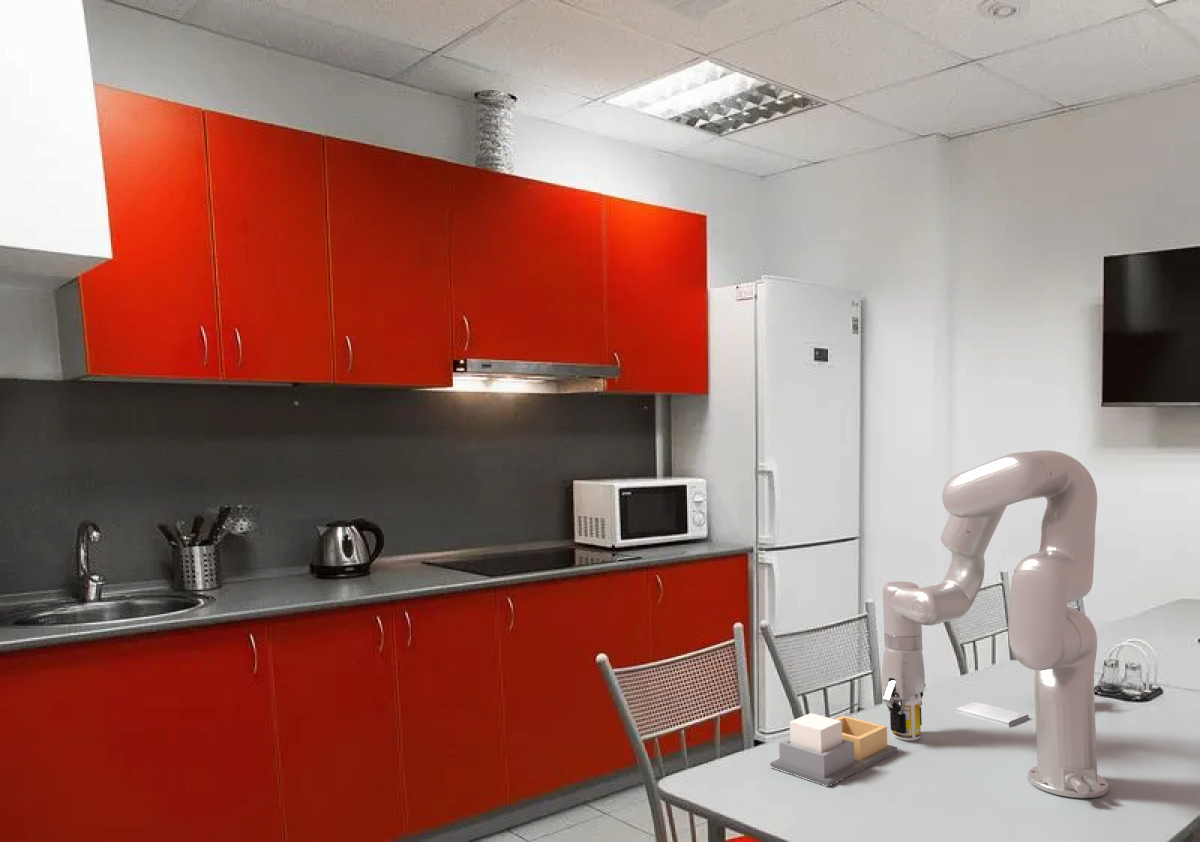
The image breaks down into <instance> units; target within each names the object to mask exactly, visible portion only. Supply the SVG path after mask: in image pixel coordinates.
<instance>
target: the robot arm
mask: <svg viewBox="0 0 1200 842" xmlns="http://www.w3.org/2000/svg"><path fill="white" fill-rule="evenodd" d="M1041 498H1045V499H1046V501H1047V502H1046V508H1045V511H1044V514H1043V516H1042V517H1043V518H1042V520H1041V527H1040V530H1041V532H1040V534H1041V535H1040V544H1039V550H1038V552H1035V553H1032V554H1029V555H1027V556H1025V557H1024V558H1023V559H1021V560H1020V561H1019V562H1018V563H1017V565H1016V567H1015V569H1014V571H1013V574H1012V576H1011V582H1010V590H1009V591H1010V592H1009V595H1010V596H1009V607H1008V608H1009V609H1008V610H1009V611H1008V627H1007V628H1008V630H1007V631H1008V632H1007V633H1008V636H1007V637H1008V643H1009V646H1010V649H1011V652H1012V654H1013V656H1014V657H1015V658H1016V660H1017V661H1018V662H1019V663H1020V664H1021V665H1023V666H1024V667H1026V668H1027V669H1030V670H1034V681H1033V683H1034V684H1033V687H1034V716H1035V719H1034V720H1035V739H1036V740H1035V741H1036V763H1037V764H1036V765H1037V766H1033V767H1031V768H1030V769H1029V770H1028V774H1027V777H1028V781H1029V782H1030V784H1031V785H1033V787H1036V788H1038V789H1039V790H1042V791H1044V792H1046V793H1049V794H1053V795H1056V796H1062V797H1067V798H1073V799H1075V798H1076V799H1093V798H1099V797H1102V796H1104V795H1105V794H1107V793H1108V791H1109V784H1108V781H1107V780H1106V778H1105V779H1104V778H1103V777H1102V776H1101V775H1099V774H1098V759H1097V758H1098V756H1097V753H1098V752H1097V735H1096V734H1097V731H1096V730H1097V729H1096V710H1095V709H1096V706H1095V705H1096V703H1095V701H1096V700H1095V697H1096V696H1095V668H1096V660H1097V659H1096V658H1097V651H1098V635H1097V631H1096V628H1095V626H1094V624H1093V622H1092V620H1091V619H1090V618H1089V617H1088V616H1087V615H1086V614H1085V613H1083V612H1082V611H1080V610H1079V609H1077V608H1075V607H1071V606H1068V604H1070V603H1073V602H1076V601H1080V600H1081V599H1083V598H1085V597H1086V596H1087V595H1088V594H1089V593H1090V592H1091V590H1092V588H1093V582H1094V566H1095V551H1096V550H1095V547H1096V523H1097V521H1096V520H1097V514H1098V513H1097V511H1098V493H1097V488H1096V484H1095V481H1094V478H1093V477H1092V475H1091V473H1090V472H1089V469H1087V468H1086V467H1085V465H1083V464H1082V463H1081V462H1080V461H1078V460H1077V458H1074V457H1072V456H1071V455H1068V454H1066V453H1064V452H1059V451H1056V450H1055V451H1054V450H1045V449H1044V450H1043V449H1042V450H1032V451H1023V452H1022V451H1019V452H1013V453H1009V454H1006V455H1003V456H1000V457H997V458H994V459H993V460H990V461H988V462H985V463H983V464H980V465H978V466H975V467H972V468H971V469H967V470H965V471H962V472H959V473H957V474H955V475H953V476H952V477H950V478H949V479H948V480H947V481H946V483H945V484H944V487H943V489H942V493H941V500H942V504H943V507H944V508H945V509H946V511H947V512H948V513H949V514H950V515H949V516H948V519H947V521H946V523H945V525H944V528H943V530H942V532H941V535H940V540H941V543H942V544H943V546H944V547H945V548H947V549H948V550H949V551H950V552H951V561H950V565H949V567H948V570H947V572H946V574H945V576H944V579H943V580H942V582H941V583H938V584H933V585H929V586H925V587H919V585H918V584H917V583H914V582H910V581H902V580H901V581H890V582H887V583H885V584H884V586H883V588H882V604H883V606H882V607H883V633H884V649H883V650H884V651H883V657H882V666H881V669H882V670H881V694H882V696H883V699H882V700H883V703H885V705H886V706H887V708H888V712H889V716H890V719H889V720H890V722H889V723H890V730H891V731H892V732H893V731H895V732H898V733H902V734H904V733H906V714H903V712H904V705H905V700H906V699H908V698H910V697H912V696H915V697H917V698H918V699H919V705H920V727H921V726H922V725H923V721H922V720H923V719H922V705H923V700H922V699H923V696H924V691H925V689H926V682H925V681H926V680H925V679H926V678H925V677H926V676H925V664H924V663H925V661H924V655H923V649H924V648H923V627H922V626H929V627H930V626H936V625H940V624H942V623H946V622H949V621H953V620H954V621H955V620H956V619H959V618H962V617H963V616H964V615H966V614H967V613H968V612H969V610H971V608H972V606H973V604H974V602H975V600H976V598H977V596H978V594H979V591H980V590H981V587H982V585H983V583H984V578H985V569H986V567H985V566H986V565H985V563H986V562H985V553H986V551H987V549H988V546H989V545H990V542H991V540H992V537H994V534H995V532H996V529H997V528H998V526H999V523H1000V521H1001V518H1002V517H1003V514H1004V512H1005V511H1006V508H1007V506H1010V505H1012V504H1016V503H1020V502H1023V501H1026V500H1033V499H1041ZM895 694H897V695H899V698H897V697H895ZM895 700H897V701H900V703H899V706H898V704H897V703H895Z"/></svg>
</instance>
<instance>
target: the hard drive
mask: <svg viewBox="0 0 1200 842" xmlns="http://www.w3.org/2000/svg"><path fill="white" fill-rule="evenodd" d="M955 713H956V714H959V715H963V716H966V717H970V718H974V719H977V720H981V721H984V722H989V723H992V724H997V725H1000V726H1004V727H1008V728H1009V727H1010V728H1011V727H1012V726H1015V725H1017V724H1021V723H1023V722H1024V721H1025V722H1026V721H1027V720H1029V718H1030V717H1029V714H1026V713H1022V712H1018V711H1014V710H1011V709H1007V708H1003V707H999V706H994V705H991V704H986V703H982V702H979V701H973V702H970V703H968V704H964V705H961V706H959V707H957V708H956V709H955Z"/></svg>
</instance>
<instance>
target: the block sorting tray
mask: <svg viewBox="0 0 1200 842" xmlns="http://www.w3.org/2000/svg"><path fill="white" fill-rule="evenodd" d="M778 743H779V744H778V745H779V746H778V748H779V749H778V750H779V751H778V752H779V758H778V759H776V760H774V761H771V762H770V766H772V767H774V768H777V769H780V770H783V771H786V772H789V773H792V774H795V775H798V776H801V777H804V778H807V779H810V780H812V781H815V782H818V783H821V784H824V785H827V786H830V785H831V784H834V783H836V782H837V781H840V780H841V779H844V778H846V777H848V776H849V775H852V774H854V773H856V772H858V771H859V772H862V771H863V770H865V769H867V768H870V767H871V766H873V765H875V764H877V763H879V762H881V761H883V760H885V759H886V758H889V757H890V756H893V755H894V754H897V753H898V747H897V746H894V745H891V744H890V745H889V744H888V726H885V725H882V724H879V723H875V722H874V723H873V722H871V721H867V720H864V719H863V720H862V719H859V718H854V717H851V716H847V715H841V716H839V717H836V718H830V717H828V716H824V715H820V714H816V713H812V712H809V713H808V714H805V715H803V716H800V717H798V718H796V719H793V720H790V721H789V738H787V739H784V740H782V741H780V742H778ZM864 768H865V769H864ZM862 769H863V770H862ZM859 772H858V773H859ZM856 774H857V773H856ZM854 775H855V774H854ZM852 776H853V775H852ZM848 778H849V777H848ZM846 779H847V778H846ZM844 780H845V779H844ZM840 782H841V781H840ZM836 784H837V783H836ZM834 785H835V784H834ZM830 787H831V786H830Z"/></svg>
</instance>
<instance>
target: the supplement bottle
mask: <svg viewBox="0 0 1200 842" xmlns="http://www.w3.org/2000/svg"><path fill="white" fill-rule="evenodd" d="M895 697H897V698H899V695H897V694H895ZM895 703H897V704H898V706H899V703H900V701H897V700H895ZM920 707H921V706H920V705H919V699H918V698H917V697H915V696H912V697H910V698H908V699H906V700H905V705H904V712H903V714H906V733H904V734H902V733H898V732H895V731H892V736H893V737H895V738H896V739H897V740H900V741H906V742H907V741H908V742H909V741H910V742H912V741H918V740H919V739H920V738H921V735H922V734H921V730H922V729H921V726H920Z"/></svg>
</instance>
